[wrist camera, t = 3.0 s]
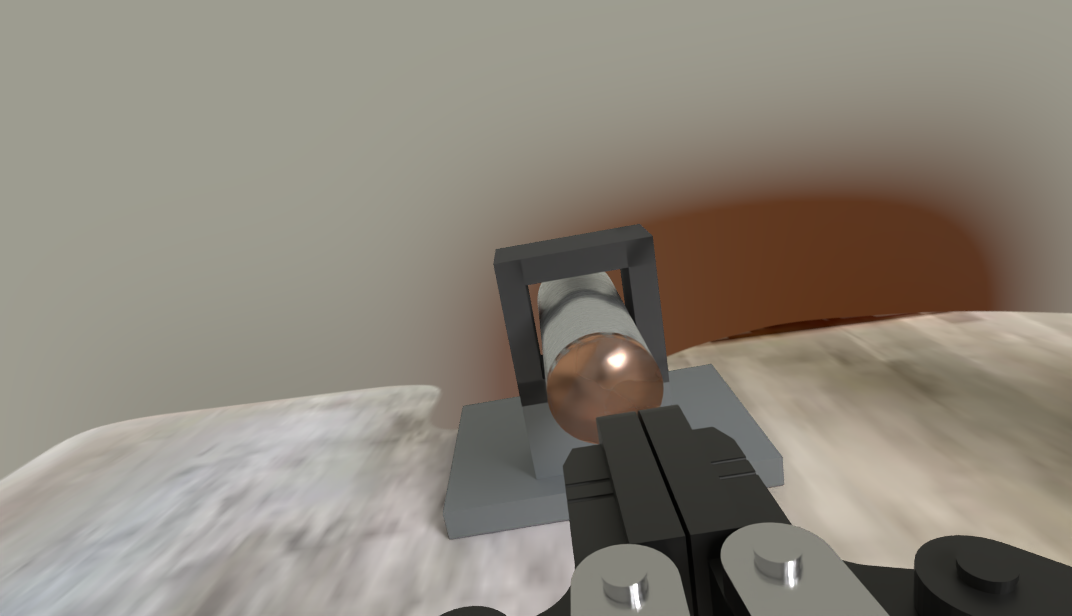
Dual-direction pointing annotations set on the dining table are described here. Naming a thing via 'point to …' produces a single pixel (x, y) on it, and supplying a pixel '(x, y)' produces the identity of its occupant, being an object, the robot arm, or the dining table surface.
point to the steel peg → (593, 355)
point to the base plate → (543, 446)
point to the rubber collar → (574, 259)
